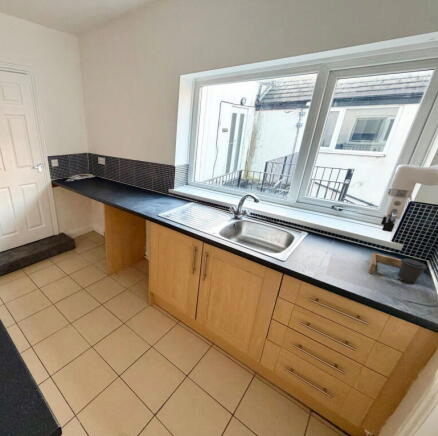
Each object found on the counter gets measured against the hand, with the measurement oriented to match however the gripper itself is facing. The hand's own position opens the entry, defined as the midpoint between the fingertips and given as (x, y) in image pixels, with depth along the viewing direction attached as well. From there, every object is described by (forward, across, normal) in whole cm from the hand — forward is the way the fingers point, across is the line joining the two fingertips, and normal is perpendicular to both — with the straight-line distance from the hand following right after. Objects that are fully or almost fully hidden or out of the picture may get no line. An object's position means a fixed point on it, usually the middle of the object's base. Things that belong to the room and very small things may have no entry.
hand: (385, 228), depth 114 cm
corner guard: (+20, -2, -6) cm, 21 cm away
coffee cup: (+20, -8, -11) cm, 25 cm away
